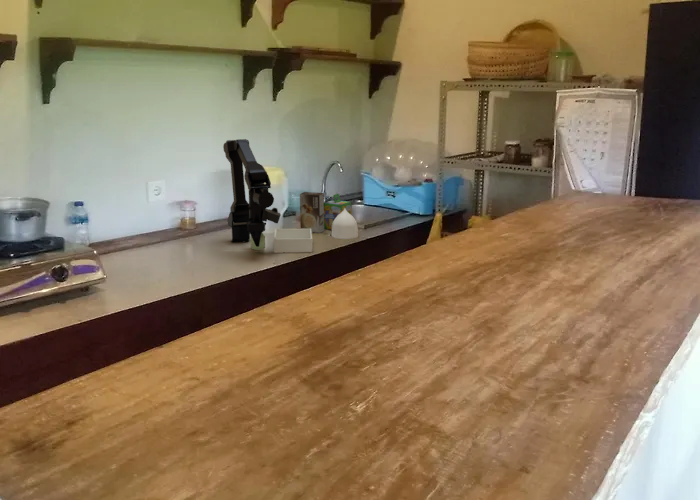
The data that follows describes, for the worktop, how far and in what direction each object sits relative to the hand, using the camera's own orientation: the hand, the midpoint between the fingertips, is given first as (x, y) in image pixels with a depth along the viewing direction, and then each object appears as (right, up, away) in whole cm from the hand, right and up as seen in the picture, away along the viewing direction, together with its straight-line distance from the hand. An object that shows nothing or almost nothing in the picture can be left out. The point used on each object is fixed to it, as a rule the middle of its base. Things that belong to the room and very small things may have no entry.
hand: (258, 244), depth 251 cm
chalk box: (+29, +7, +41) cm, 51 cm away
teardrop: (+32, +4, +28) cm, 43 cm away
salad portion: (0, -1, 0) cm, 1 cm away
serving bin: (+12, -1, +10) cm, 16 cm away
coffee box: (+18, +6, +37) cm, 41 cm away
